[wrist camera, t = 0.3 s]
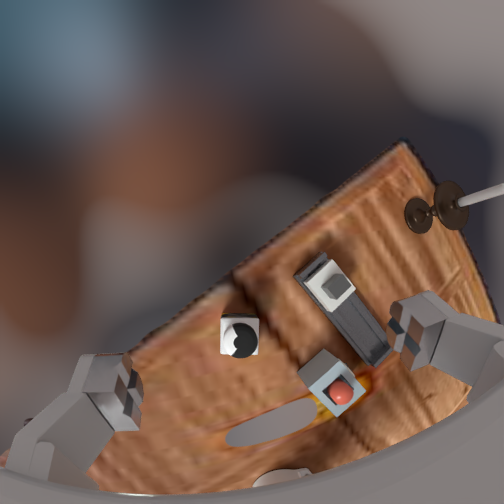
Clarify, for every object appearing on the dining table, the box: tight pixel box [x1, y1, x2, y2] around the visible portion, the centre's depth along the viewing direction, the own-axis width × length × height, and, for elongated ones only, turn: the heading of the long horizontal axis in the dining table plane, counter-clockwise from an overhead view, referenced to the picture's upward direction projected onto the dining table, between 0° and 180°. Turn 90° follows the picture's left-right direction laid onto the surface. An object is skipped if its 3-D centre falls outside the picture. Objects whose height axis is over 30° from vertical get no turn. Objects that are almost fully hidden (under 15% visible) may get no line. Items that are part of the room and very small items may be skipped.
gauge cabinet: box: [297, 349, 366, 417], centre depth 56 cm, size 10×9×10 cm
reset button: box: [327, 379, 354, 405], centre depth 50 cm, size 4×4×4 cm
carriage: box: [304, 259, 356, 312], centre depth 56 cm, size 8×7×7 cm
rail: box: [293, 252, 393, 368], centre depth 60 cm, size 28×8×4 cm, turn 41°
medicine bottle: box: [220, 313, 259, 358], centre depth 54 cm, size 7×7×12 cm
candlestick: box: [404, 181, 504, 234], centre depth 48 cm, size 11×11×35 cm
